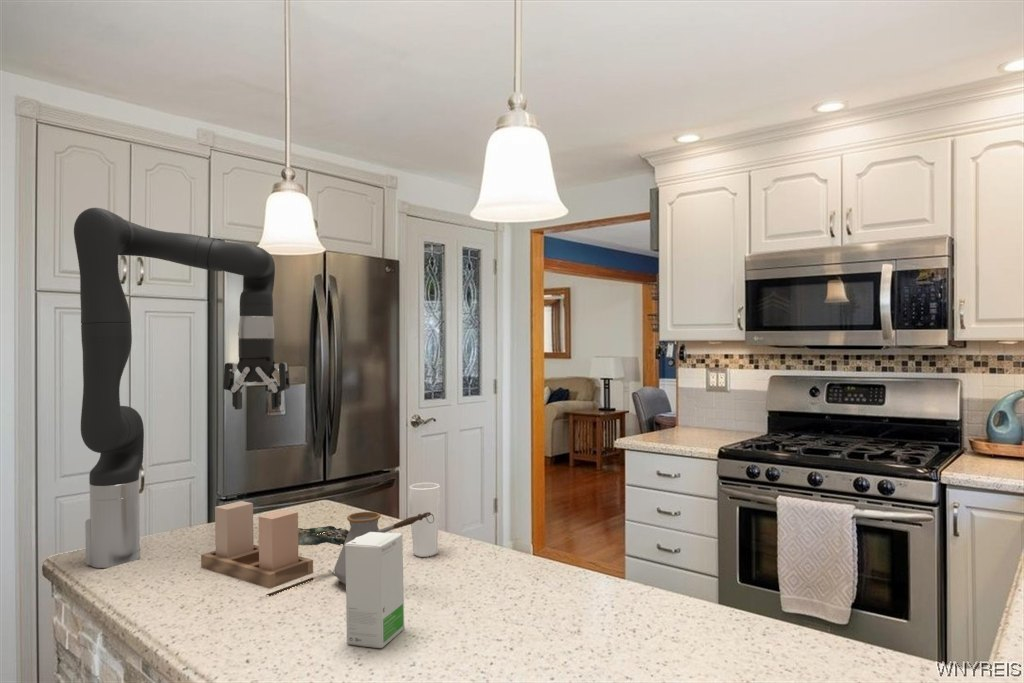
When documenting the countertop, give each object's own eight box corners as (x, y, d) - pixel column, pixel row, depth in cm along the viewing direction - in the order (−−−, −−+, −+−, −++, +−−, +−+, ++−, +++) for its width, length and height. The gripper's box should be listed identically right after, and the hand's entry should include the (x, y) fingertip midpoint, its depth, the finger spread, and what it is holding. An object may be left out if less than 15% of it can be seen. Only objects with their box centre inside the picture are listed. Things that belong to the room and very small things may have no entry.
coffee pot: (321, 587, 128) (320, 508, 128) (359, 568, 139) (358, 495, 139) (416, 604, 119) (415, 520, 119) (449, 583, 130) (448, 505, 130)
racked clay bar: (215, 566, 137) (215, 507, 137) (242, 557, 142) (241, 500, 142) (227, 569, 135) (226, 509, 135) (253, 561, 140) (253, 503, 140)
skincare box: (381, 650, 102) (380, 547, 102) (343, 645, 104) (341, 544, 104) (406, 627, 110) (404, 532, 110) (369, 623, 112) (368, 529, 112)
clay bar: (259, 579, 129) (258, 516, 129) (285, 569, 134) (284, 509, 134) (272, 582, 127) (271, 519, 127) (298, 573, 132) (297, 512, 132)
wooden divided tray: (201, 574, 136) (200, 554, 136) (244, 560, 145) (244, 542, 145) (269, 596, 124) (269, 574, 124) (313, 580, 132) (313, 559, 132)
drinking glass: (447, 552, 149) (446, 484, 149) (427, 560, 143) (426, 490, 143) (423, 547, 153) (422, 481, 152) (403, 555, 147) (402, 486, 147)
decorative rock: (323, 513, 170) (366, 516, 162) (323, 538, 169) (367, 542, 162) (259, 526, 154) (304, 530, 146) (259, 553, 153) (304, 559, 146)
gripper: (294, 336, 154) (294, 407, 154) (233, 337, 155) (234, 407, 155) (280, 336, 147) (280, 411, 147) (217, 336, 148) (217, 410, 148)
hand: (256, 409), depth 151 cm, fingers open, 8 cm apart
